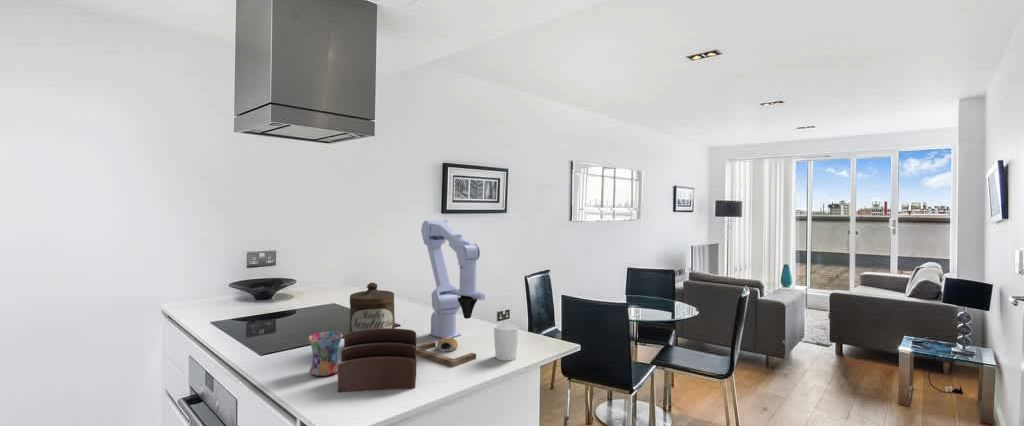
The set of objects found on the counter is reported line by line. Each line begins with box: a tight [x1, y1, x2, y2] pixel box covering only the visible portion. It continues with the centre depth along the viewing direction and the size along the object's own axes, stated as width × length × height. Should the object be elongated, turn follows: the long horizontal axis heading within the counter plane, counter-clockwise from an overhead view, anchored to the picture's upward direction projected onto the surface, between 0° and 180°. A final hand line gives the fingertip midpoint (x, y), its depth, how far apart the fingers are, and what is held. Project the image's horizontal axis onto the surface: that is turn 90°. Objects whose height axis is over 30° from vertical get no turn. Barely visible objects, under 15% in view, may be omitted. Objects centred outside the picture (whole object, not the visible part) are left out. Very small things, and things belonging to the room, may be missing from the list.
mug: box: [307, 331, 344, 377], centre depth 137 cm, size 12×9×11 cm
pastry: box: [435, 337, 458, 352], centre depth 160 cm, size 9×7×4 cm
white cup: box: [493, 323, 520, 362], centre depth 150 cm, size 8×8×10 cm
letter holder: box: [337, 328, 417, 393], centre depth 128 cm, size 10×20×14 cm, turn 100°
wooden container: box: [349, 282, 396, 332], centre depth 160 cm, size 15×15×22 cm
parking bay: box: [416, 341, 477, 368], centre depth 152 cm, size 21×10×2 cm, turn 51°
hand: (467, 317), depth 163 cm, fingers closed
